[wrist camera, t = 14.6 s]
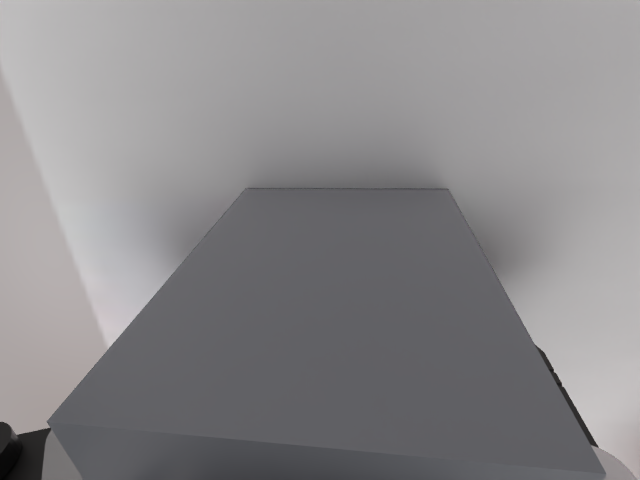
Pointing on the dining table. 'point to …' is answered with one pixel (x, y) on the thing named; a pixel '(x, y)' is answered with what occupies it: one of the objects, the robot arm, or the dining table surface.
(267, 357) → the gray cube
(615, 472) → the robot arm
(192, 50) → the dining table surface
